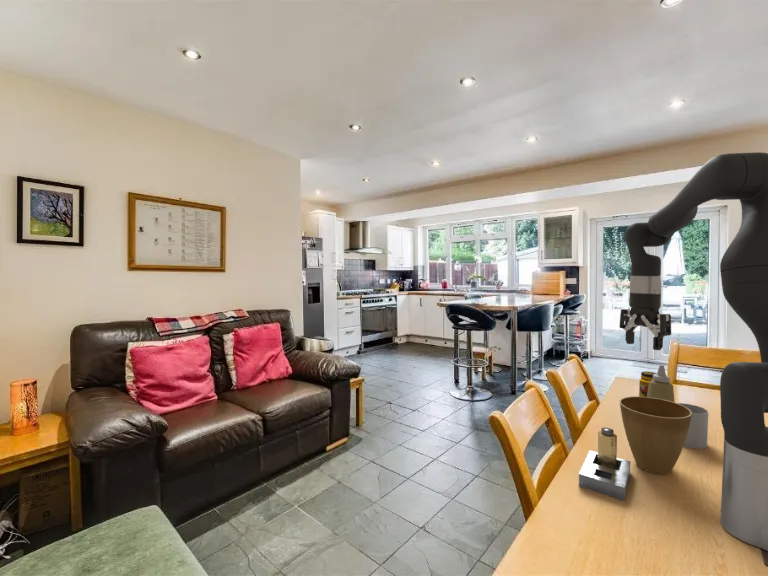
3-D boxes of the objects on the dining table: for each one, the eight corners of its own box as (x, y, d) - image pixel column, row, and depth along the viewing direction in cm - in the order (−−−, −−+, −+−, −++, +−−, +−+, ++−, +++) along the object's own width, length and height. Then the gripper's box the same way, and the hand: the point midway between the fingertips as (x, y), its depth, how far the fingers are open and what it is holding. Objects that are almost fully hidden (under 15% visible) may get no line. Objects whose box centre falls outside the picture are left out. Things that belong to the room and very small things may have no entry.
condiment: (640, 406, 136) (641, 374, 135) (633, 398, 144) (634, 368, 143) (664, 409, 133) (665, 376, 133) (656, 401, 141) (657, 370, 141)
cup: (714, 449, 103) (715, 414, 103) (680, 447, 105) (681, 412, 104) (695, 436, 112) (696, 404, 111) (664, 434, 113) (665, 402, 113)
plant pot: (642, 448, 104) (644, 392, 104) (703, 475, 91) (706, 412, 90) (604, 458, 99) (606, 400, 98) (663, 489, 85) (666, 421, 84)
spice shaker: (609, 479, 89) (610, 434, 88) (594, 471, 93) (594, 428, 92) (619, 475, 91) (620, 431, 90) (604, 467, 94) (604, 425, 94)
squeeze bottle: (646, 410, 132) (648, 361, 131) (675, 416, 127) (677, 364, 126) (644, 417, 125) (646, 365, 124) (674, 424, 120) (676, 370, 119)
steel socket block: (624, 500, 81) (624, 487, 81) (578, 486, 87) (579, 473, 86) (630, 472, 92) (630, 461, 92) (589, 461, 98) (589, 450, 97)
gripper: (613, 290, 113) (612, 342, 114) (658, 293, 99) (656, 352, 100) (633, 289, 115) (631, 341, 115) (680, 292, 101) (677, 351, 102)
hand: (643, 346), depth 108 cm, fingers open, 8 cm apart
